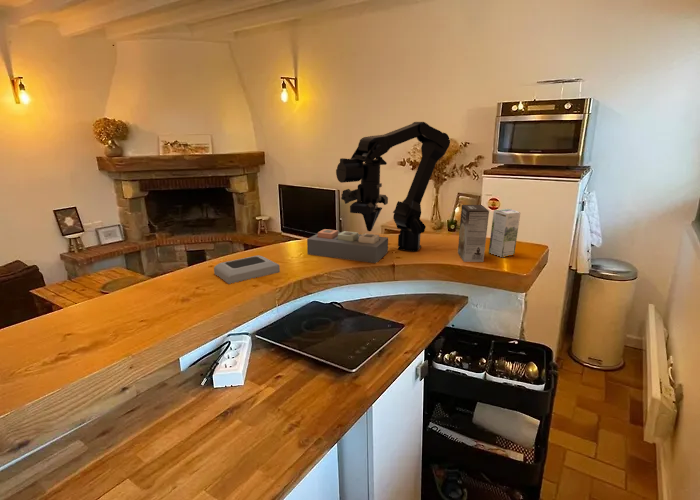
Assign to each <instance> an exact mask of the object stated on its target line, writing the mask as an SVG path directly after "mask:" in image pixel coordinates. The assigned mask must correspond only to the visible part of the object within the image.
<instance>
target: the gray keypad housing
mask: <svg viewBox="0 0 700 500" xmlns="http://www.w3.org/2000/svg"><path fill="white" fill-rule="evenodd" d="M342 232H343V231H341V232H340V231H338V234H340V233H342ZM361 235H362V234H361V233H360V234H359V233H358V239H357V240H355V241H354V242H353V241H344V240H338V236H337V237H336V238H334V239H327V238H318V233H315V235H312V236H310V237H308V238H307V239H306V243H307V244H306V247H307V249H306V250H307V255H310V256H319V257H325V258H332V259H342V260H347V261H348V260H350V261H355V262H356V261H357V262H364V263H371V264H372V263H373V264H377V263H378V262H379V261H380V260H381V259H382V258H384V256H386V254H388V252H389V237H387V236H379V241H378V242H377V243H376V244H370V243H361V242H359V237H360V236H361Z"/></svg>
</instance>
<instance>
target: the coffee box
mask: <svg viewBox="0 0 700 500" xmlns="http://www.w3.org/2000/svg"><path fill="white" fill-rule="evenodd" d="M489 215H490V210H489V209H487V208H486V207H485V206H483V205H482V204H462V205H461V212H460V223H459V232H458V234H459V235H458V245H457V254H458V256H459V257H460V258H461V259H462V261H463V263H465V262H469V263H472V262H473V263H477V262H478V263H483V262H484V259H485V253H486V252H485V251H486V241H487V235H488V234H487V233H488V225H489Z"/></svg>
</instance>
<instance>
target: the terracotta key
mask: <svg viewBox="0 0 700 500" xmlns="http://www.w3.org/2000/svg"><path fill="white" fill-rule="evenodd" d="M338 232H339V230H338V229H337V230H335V229H330V228H329V229H326V228H324V229H322V230H320V231H318V232H317V234H318V238H327V239H334V238H336V237H337V236H338Z"/></svg>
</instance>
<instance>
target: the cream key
mask: <svg viewBox="0 0 700 500" xmlns="http://www.w3.org/2000/svg"><path fill="white" fill-rule="evenodd" d="M379 237H380V234H373V233H366V232H364V233H362V234H361V236H360V237H359V242H361V243H370V244H376V243H377V242H378V241H379Z"/></svg>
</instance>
